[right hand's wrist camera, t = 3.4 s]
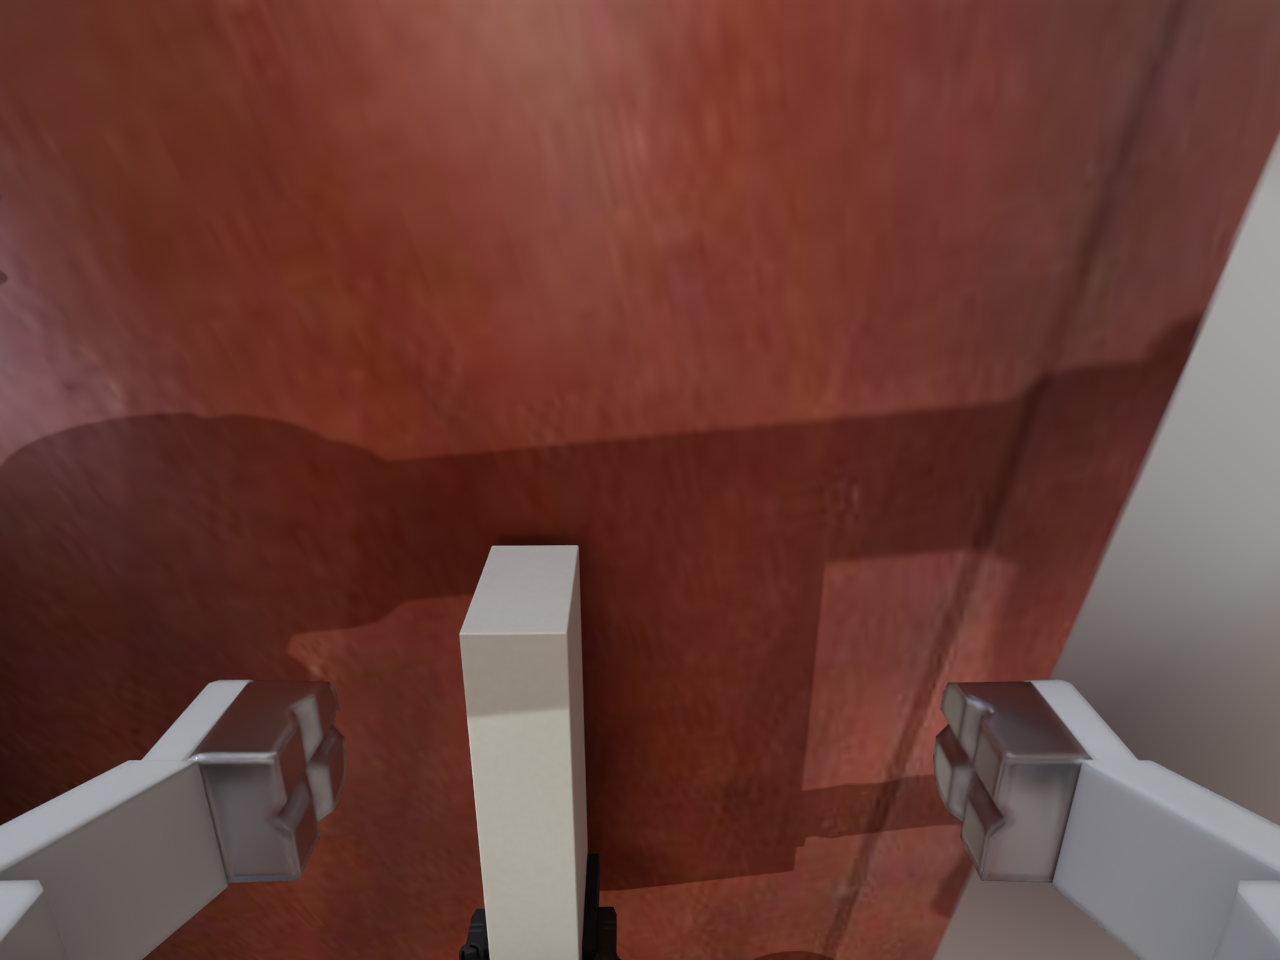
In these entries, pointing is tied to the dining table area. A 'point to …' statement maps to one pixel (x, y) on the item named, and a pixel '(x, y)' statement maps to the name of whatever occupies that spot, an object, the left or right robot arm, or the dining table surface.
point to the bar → (528, 749)
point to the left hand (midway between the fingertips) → (550, 871)
